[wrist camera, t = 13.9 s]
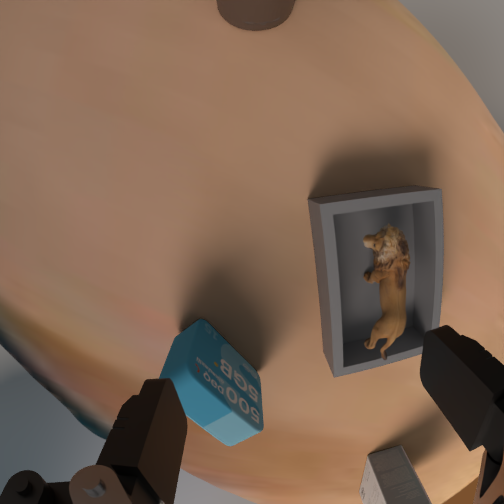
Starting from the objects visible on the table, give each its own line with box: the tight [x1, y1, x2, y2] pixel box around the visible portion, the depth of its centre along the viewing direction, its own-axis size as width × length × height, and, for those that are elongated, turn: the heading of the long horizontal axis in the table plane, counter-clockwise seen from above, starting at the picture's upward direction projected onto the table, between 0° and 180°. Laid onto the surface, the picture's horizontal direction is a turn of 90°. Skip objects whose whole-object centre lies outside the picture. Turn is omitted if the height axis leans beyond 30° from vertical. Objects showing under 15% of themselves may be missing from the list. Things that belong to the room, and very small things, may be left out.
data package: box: [159, 319, 264, 446], centre depth 34 cm, size 12×4×12 cm, turn 39°
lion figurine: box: [363, 223, 410, 360], centre depth 31 cm, size 15×5×9 cm, turn 7°
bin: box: [308, 185, 444, 377], centre depth 35 cm, size 20×14×6 cm
